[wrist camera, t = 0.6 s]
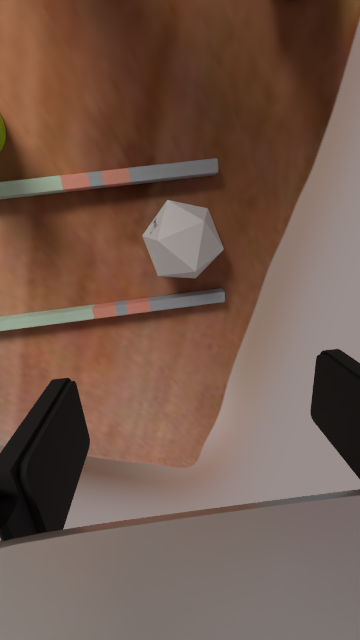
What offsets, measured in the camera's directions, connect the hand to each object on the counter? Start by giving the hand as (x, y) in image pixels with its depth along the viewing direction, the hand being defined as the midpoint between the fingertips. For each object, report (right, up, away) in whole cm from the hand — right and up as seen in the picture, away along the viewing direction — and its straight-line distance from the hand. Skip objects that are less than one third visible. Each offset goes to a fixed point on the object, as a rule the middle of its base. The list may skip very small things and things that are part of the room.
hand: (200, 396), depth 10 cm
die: (-1, +13, +24) cm, 28 cm away
